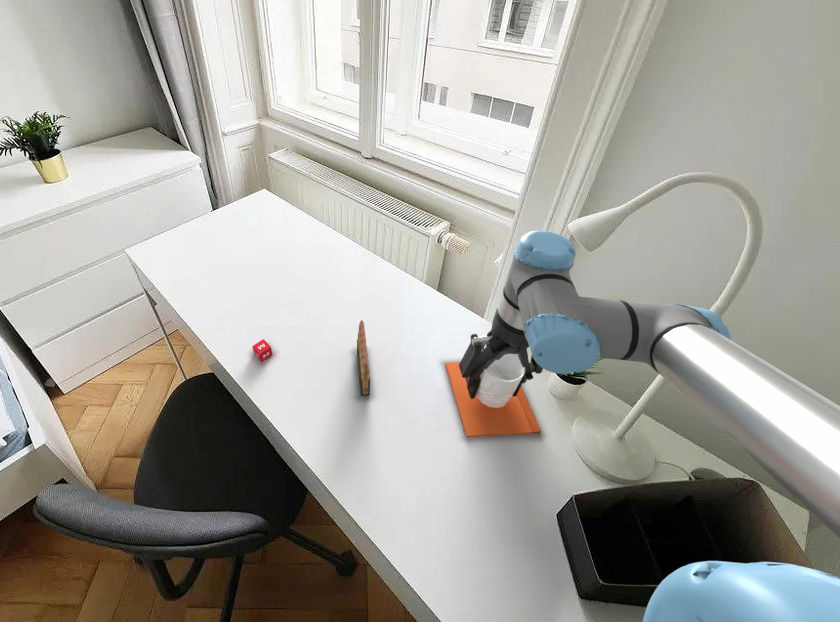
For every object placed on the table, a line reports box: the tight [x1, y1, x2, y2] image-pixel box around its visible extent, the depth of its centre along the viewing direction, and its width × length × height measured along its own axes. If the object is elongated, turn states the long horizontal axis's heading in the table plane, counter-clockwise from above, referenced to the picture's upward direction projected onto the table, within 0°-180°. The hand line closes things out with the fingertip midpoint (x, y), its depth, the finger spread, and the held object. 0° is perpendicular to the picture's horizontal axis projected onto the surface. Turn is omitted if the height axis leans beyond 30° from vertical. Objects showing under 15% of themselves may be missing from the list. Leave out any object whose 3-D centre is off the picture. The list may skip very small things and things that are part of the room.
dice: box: [252, 338, 273, 363], centre depth 90 cm, size 3×3×3 cm
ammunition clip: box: [356, 319, 371, 397], centre depth 83 cm, size 11×2×12 cm, turn 2°
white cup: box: [476, 354, 525, 408], centre depth 78 cm, size 8×8×10 cm
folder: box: [444, 361, 542, 438], centre depth 82 cm, size 16×14×1 cm
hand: (491, 391), depth 81 cm, fingers closed on white cup, 8 cm apart
